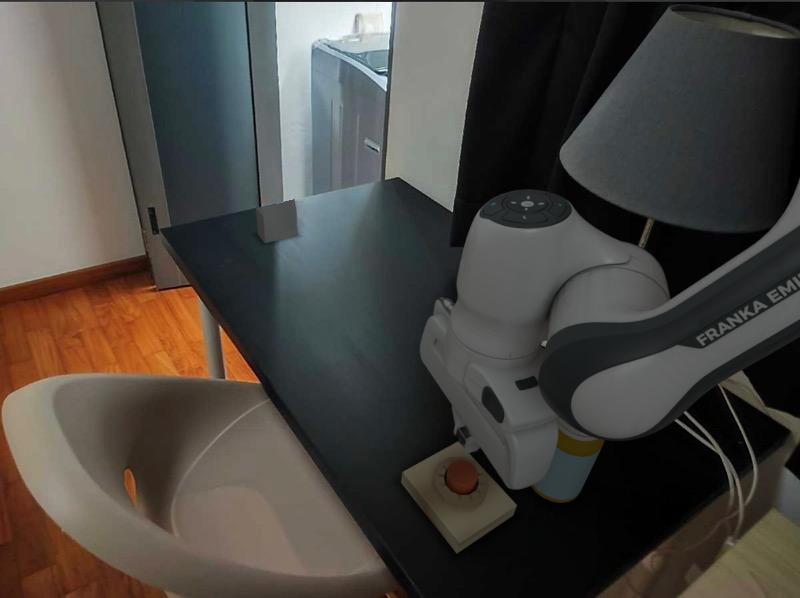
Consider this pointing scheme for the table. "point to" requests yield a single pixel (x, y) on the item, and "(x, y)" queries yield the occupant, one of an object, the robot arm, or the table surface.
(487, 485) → the button box
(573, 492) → the bottle
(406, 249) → the table surface
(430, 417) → the table surface
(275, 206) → the grey rectangular block
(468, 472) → the button
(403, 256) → the table surface
